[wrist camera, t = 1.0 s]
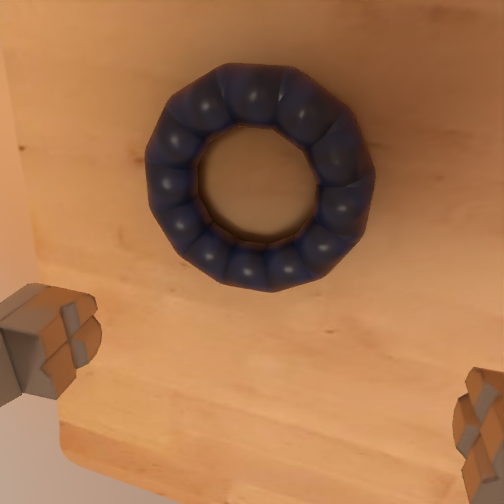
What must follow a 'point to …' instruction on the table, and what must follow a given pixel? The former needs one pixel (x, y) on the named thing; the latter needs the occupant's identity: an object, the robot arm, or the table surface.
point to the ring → (291, 128)
